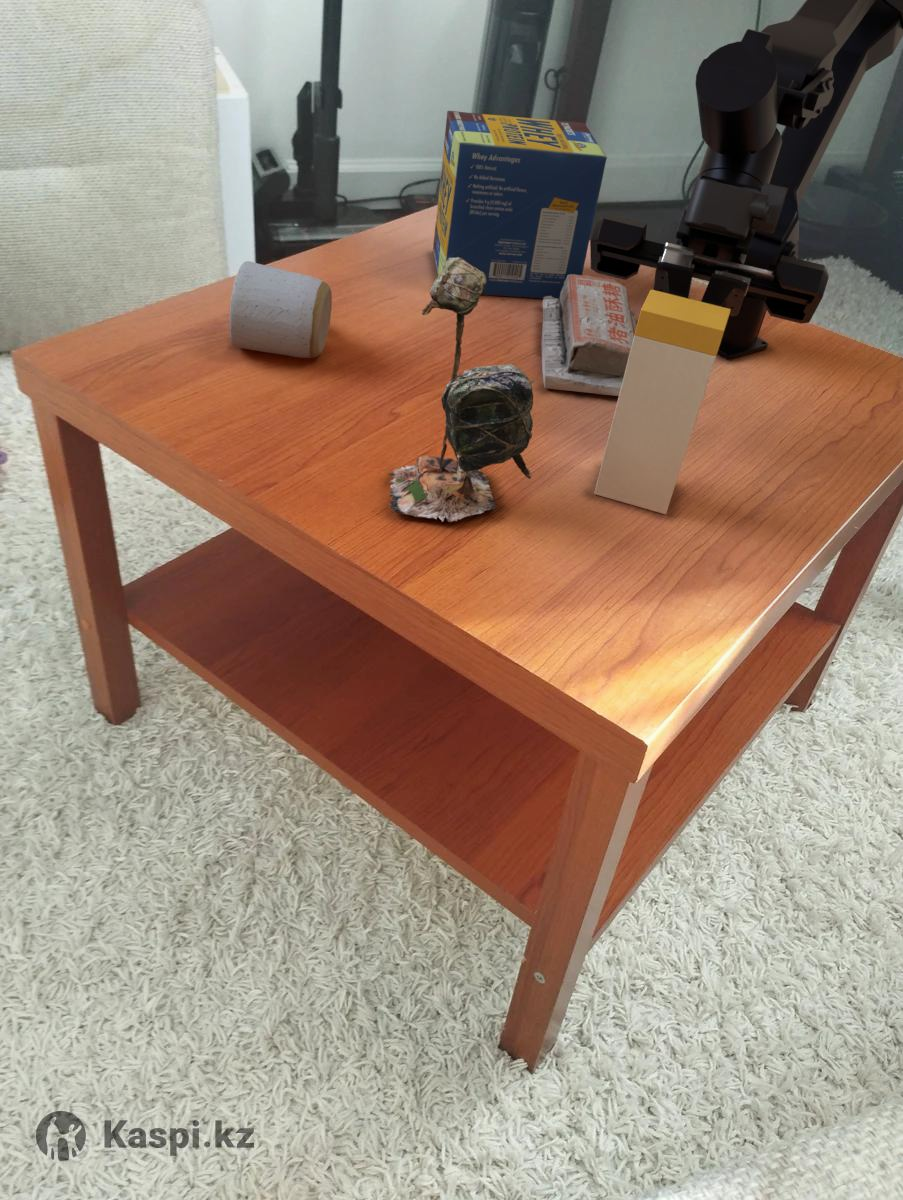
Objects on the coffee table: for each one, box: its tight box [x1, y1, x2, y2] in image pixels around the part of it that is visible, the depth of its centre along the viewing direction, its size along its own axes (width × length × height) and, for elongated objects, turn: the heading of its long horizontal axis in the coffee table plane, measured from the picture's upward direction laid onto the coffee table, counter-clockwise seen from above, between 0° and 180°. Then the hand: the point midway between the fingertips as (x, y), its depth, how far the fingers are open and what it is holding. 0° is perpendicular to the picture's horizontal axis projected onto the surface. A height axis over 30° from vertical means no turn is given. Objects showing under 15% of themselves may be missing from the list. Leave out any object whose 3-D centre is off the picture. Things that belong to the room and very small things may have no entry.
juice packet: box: [593, 289, 731, 515], centre depth 77 cm, size 4×6×16 cm, turn 71°
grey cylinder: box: [228, 260, 333, 359], centre depth 92 cm, size 11×8×8 cm
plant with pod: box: [387, 257, 535, 523], centre depth 72 cm, size 8×11×20 cm
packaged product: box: [541, 274, 637, 397], centre depth 98 cm, size 18×5×10 cm
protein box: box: [432, 110, 608, 300], centre depth 106 cm, size 10×15×16 cm
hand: (674, 366), depth 81 cm, fingers closed
